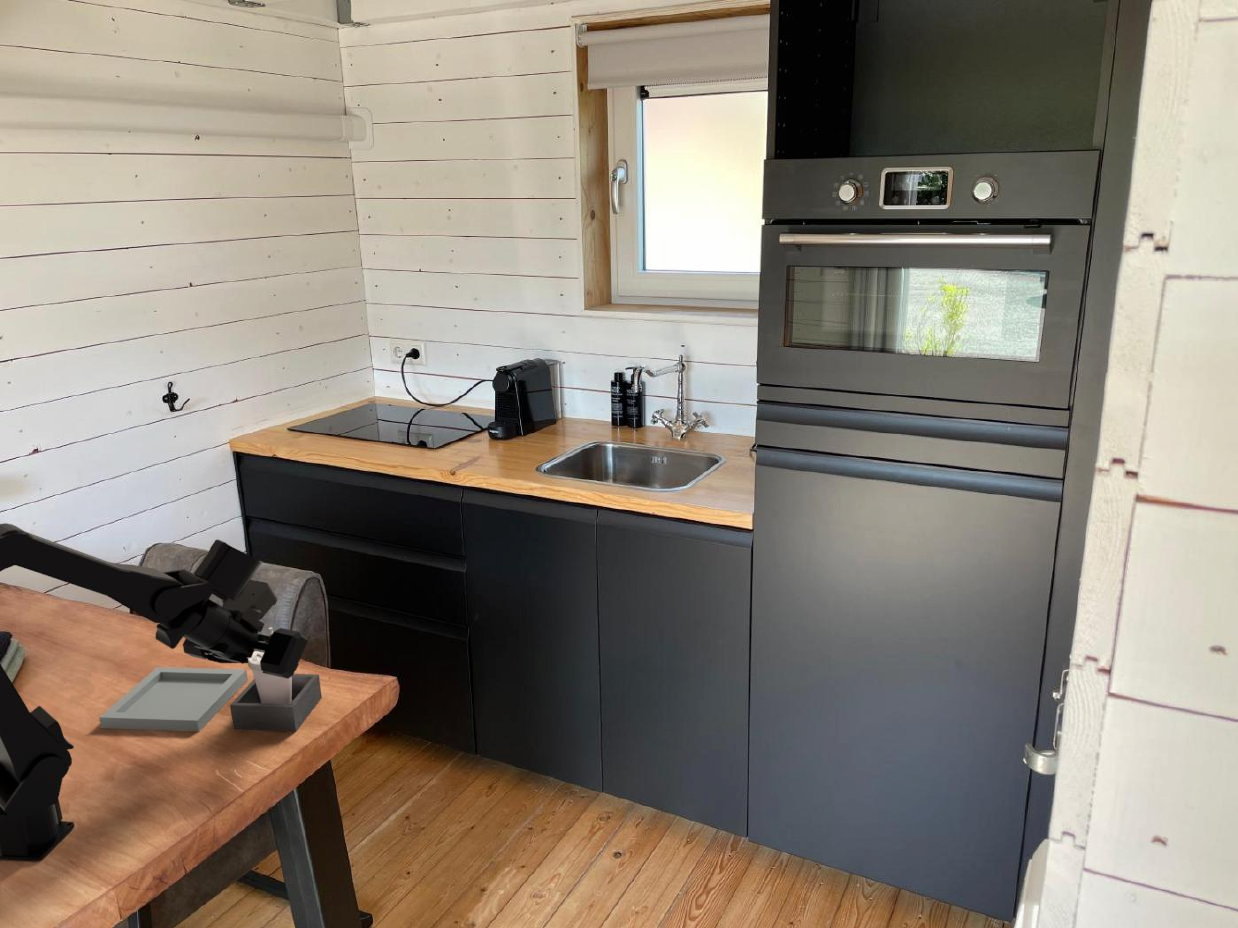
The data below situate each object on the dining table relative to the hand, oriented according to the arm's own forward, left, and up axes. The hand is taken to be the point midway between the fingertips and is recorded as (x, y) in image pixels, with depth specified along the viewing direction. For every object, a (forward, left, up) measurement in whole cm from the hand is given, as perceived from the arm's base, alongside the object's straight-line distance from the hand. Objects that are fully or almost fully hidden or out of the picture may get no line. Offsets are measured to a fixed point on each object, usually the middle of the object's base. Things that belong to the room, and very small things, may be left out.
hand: (278, 663), depth 138 cm
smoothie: (-1, 0, -8) cm, 8 cm away
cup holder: (-1, 0, -8) cm, 8 cm away
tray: (+1, +17, -8) cm, 19 cm away
